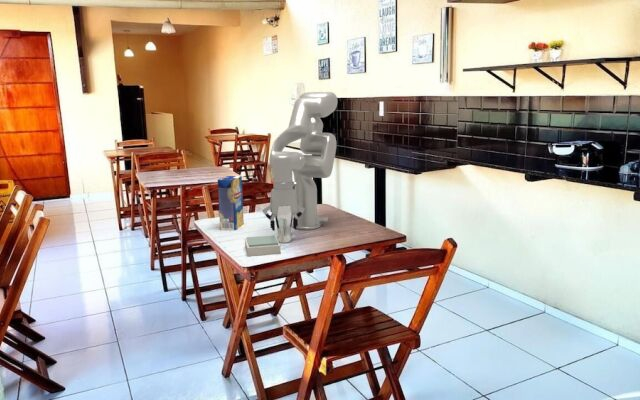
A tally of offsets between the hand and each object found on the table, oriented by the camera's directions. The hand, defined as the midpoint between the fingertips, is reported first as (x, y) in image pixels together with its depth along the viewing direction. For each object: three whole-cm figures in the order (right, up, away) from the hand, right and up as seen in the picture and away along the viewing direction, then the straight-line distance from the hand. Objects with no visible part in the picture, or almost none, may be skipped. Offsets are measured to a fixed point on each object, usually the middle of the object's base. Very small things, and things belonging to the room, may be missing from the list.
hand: (284, 228), depth 209 cm
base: (-8, -7, -11) cm, 15 cm away
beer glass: (0, -5, +1) cm, 5 cm away
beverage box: (-25, -1, +24) cm, 34 cm away
